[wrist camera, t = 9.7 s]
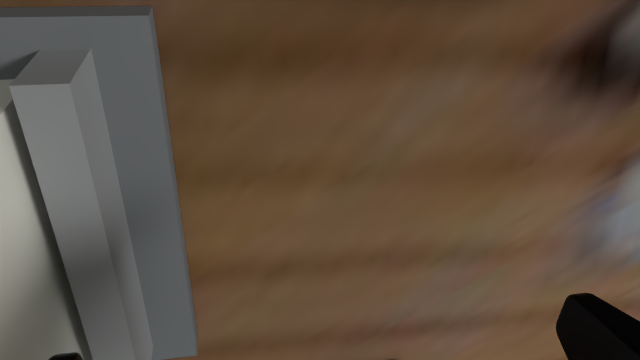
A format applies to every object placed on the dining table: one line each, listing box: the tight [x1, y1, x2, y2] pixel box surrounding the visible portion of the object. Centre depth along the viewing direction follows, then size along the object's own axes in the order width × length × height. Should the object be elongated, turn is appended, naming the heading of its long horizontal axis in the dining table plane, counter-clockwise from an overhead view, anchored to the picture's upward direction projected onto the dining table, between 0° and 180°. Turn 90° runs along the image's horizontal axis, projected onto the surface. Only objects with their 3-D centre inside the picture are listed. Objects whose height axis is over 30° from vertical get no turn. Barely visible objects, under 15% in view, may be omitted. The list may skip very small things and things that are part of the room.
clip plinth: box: [0, 6, 198, 360], centre depth 19 cm, size 16×11×4 cm
